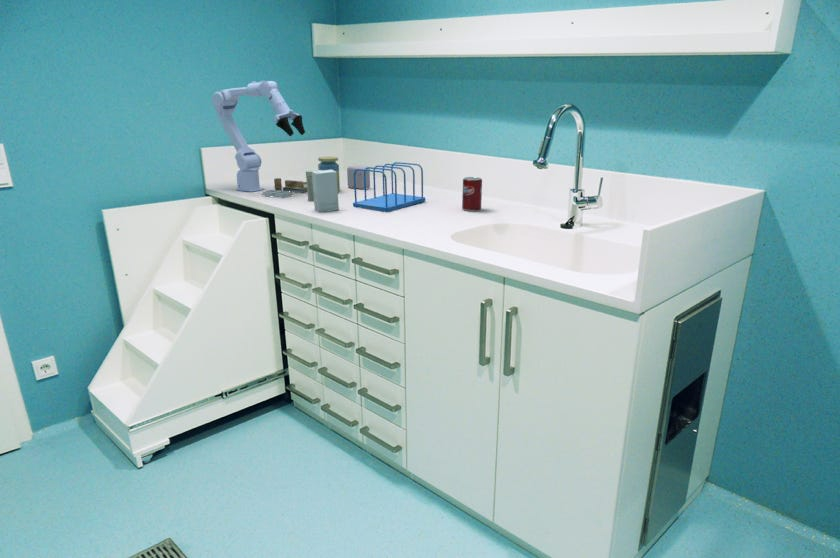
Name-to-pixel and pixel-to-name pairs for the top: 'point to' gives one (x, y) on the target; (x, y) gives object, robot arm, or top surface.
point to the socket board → (277, 193)
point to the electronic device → (358, 177)
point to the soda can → (472, 194)
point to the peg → (278, 184)
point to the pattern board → (296, 189)
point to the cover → (295, 184)
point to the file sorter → (387, 200)
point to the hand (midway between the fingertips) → (297, 134)
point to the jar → (330, 166)
